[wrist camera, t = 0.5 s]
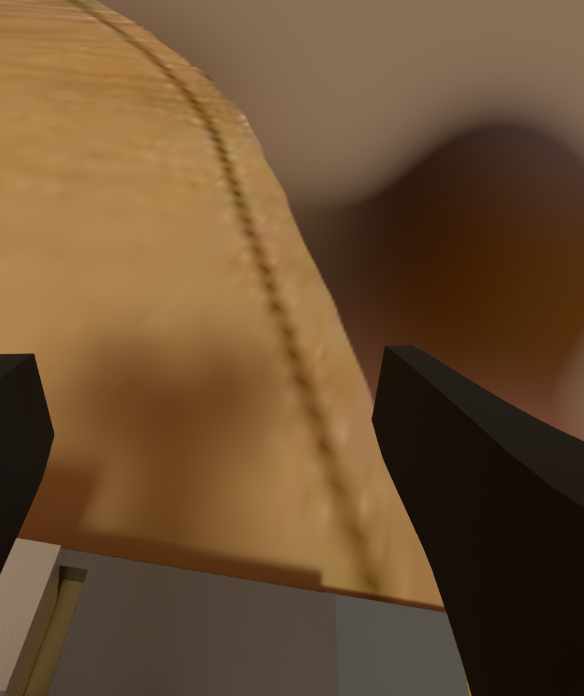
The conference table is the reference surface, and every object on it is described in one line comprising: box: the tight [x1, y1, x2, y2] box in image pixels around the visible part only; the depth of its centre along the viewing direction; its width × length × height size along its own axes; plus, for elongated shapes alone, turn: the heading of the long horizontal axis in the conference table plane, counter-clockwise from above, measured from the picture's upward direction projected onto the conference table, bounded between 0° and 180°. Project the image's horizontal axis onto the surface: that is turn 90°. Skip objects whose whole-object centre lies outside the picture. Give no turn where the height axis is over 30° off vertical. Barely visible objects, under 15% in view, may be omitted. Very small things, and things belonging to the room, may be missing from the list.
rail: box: [47, 548, 339, 696], centre depth 20 cm, size 8×24×2 cm, turn 87°
